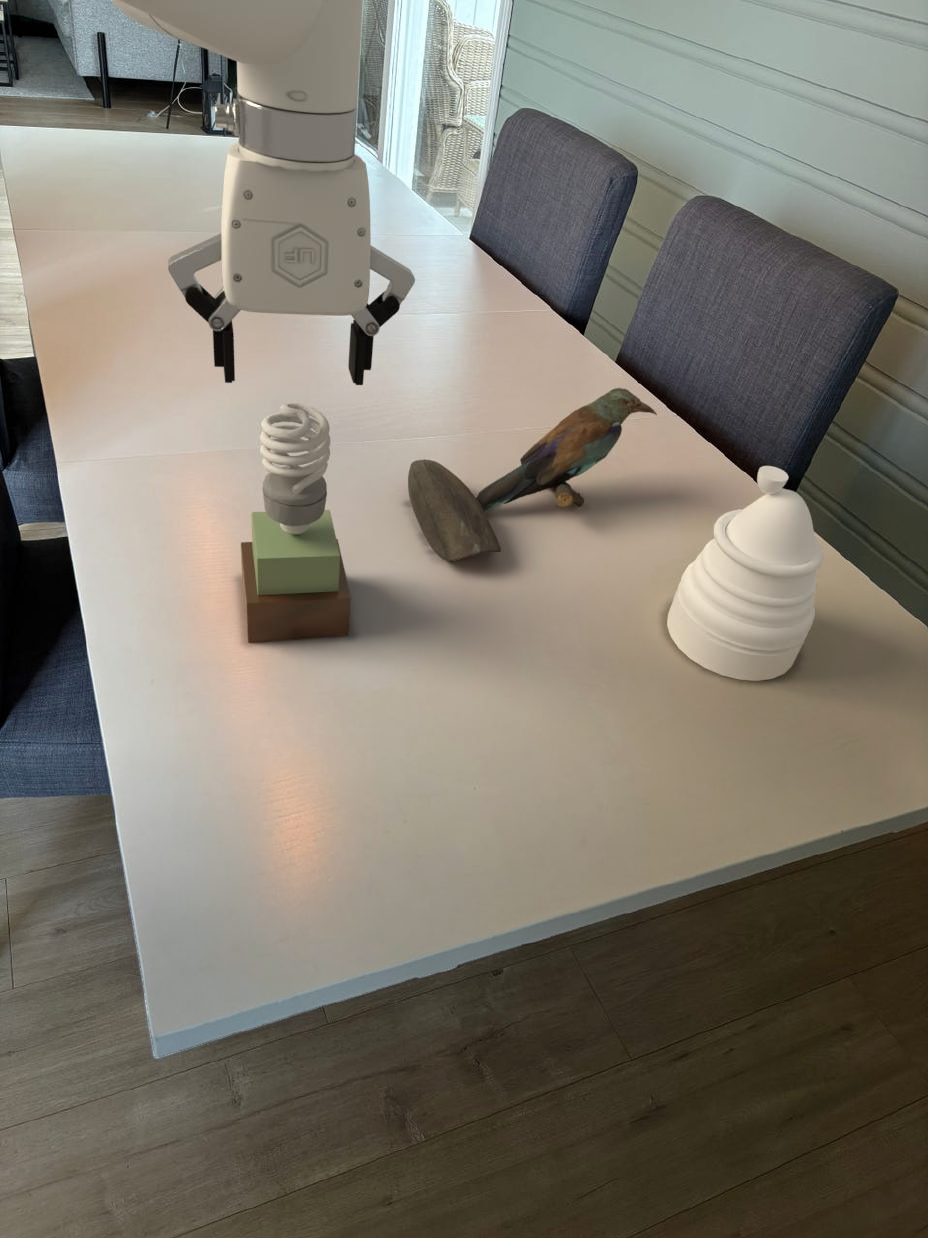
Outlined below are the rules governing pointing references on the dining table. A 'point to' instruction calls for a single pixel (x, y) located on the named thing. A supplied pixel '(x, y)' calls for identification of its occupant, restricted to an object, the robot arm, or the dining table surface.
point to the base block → (293, 608)
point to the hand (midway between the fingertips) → (293, 376)
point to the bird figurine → (566, 452)
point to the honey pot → (751, 587)
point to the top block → (295, 557)
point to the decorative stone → (449, 512)
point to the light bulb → (295, 466)
